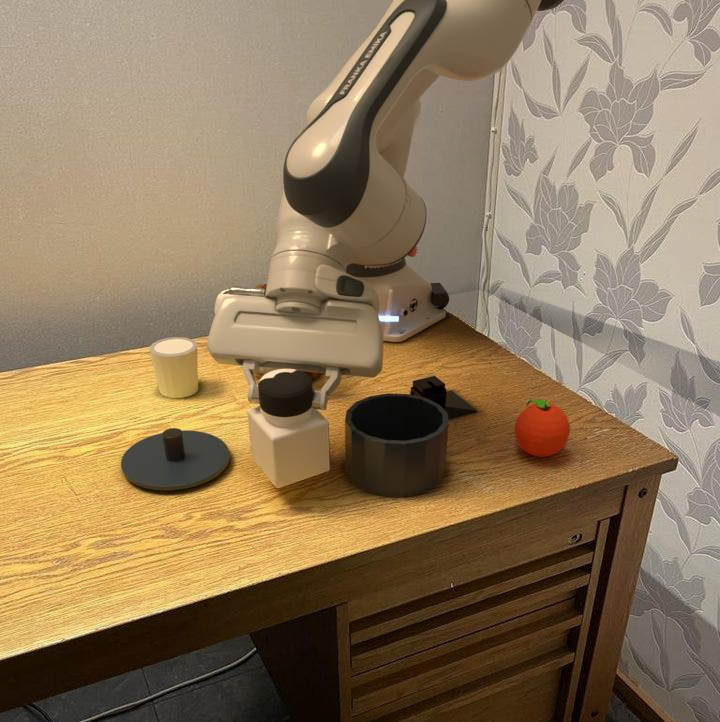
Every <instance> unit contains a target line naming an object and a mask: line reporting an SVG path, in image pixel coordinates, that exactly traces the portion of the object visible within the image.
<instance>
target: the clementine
mask: <svg viewBox="0 0 720 722" xmlns="http://www.w3.org/2000/svg"><path fill="white" fill-rule="evenodd" d="M531 402H533V404H530V403H531ZM570 433H571V426H570V422H569V419H568V415H566V413H565V412H564V411H563V409H561V408H560V407H558V406H557V405H555V404H553V403H550V402H547V401H546V400H544V399H540V398H536V399H535V398H534V399H529V400H528V401H527V403H526V406H525V408H524V409H523V410H522V411H521V412H520V413H519V415H518V416H517V418H516V421H515V424H514V437H515V440H516V443H517V444H518V445H519V446H520V448H521V449H522V450H523V451H524V452H525V453H527V454H529V455H530V456H534V457H539V458H544V457H549V456H553V455H555V454H558V452H559V451H561V450H562V449H563V448H564V447H565V445H566V444H567V443H568V440H569V437H570Z"/></svg>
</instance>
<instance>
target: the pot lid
mask: <svg viewBox="0 0 720 722" xmlns="http://www.w3.org/2000/svg"><path fill="white" fill-rule="evenodd" d="M229 462H230V450H229V447H228V445H227V443H225V441H223V439H221V438H219V437H218V436H216V435H213V434H211V433H208V432H203V431H198V430H182V429H180V428H176V427H172V428H166V429H164V430H163V431H162V432H160V433H157V434H152V435H150V436H147V437H145V438H142V439H141V440H139V441H137V442H135V443H134V444H133V445H131V446H130V447H129V448H128V449H127V450H126V451H125V452H124V453H123V455H122V457H121V460H120V468H121V472H122V474H123V476H124V477H125V479H126V480H128V481H129V482H130V483H132V484H134V485H136V486H138V487H140V488H143V489H148V490H152V491H153V490H154V491H178V490H185V489H190V488H193V487H197V486H199V485H203V484H205V483H207V482H209V481H211V480H214V479H215V478H216V477H218V476H219V475H220V474H222V472H223V471H225V469H226V468H227V467H228V465H229Z"/></svg>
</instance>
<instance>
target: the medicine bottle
mask: <svg viewBox="0 0 720 722" xmlns="http://www.w3.org/2000/svg"><path fill="white" fill-rule="evenodd" d="M257 385H258V391H259V402H260V404H259V406H255V407H252V408H249V409H248V410H247V412H246V414H247V422H248V423H247V424H248V432H249V443H250V452H251V459H252V461H253V462H254V463H255V464H256V465H257V466H258V468H259V469H260V470H261V472H262V473H264V475H265V476H266V477H267V479H268V480H269V481H270V482H271V483H272V485H273V486H274V487H275V488H276V489H280V488H283V487H287V486H290V485H292V484H295V483H298V482H301V481H303V480H307V479H309V478H313V477H316V476H318V475H321V474H324V473H327V472H329V471H330V470H331V453H330V452H331V451H330V422H329V420H328V419H327V418H326V417H325V416H324V415H323V414H322V413H321V412H320V410H318V409H313V407H312V405H311V404H312V399H313V391H314V389H313V388H314V385H313V379H311V378H310V377H309V376H308V375H307V374H306V373H304V372H302V371H300V370H296V369H278V370H274V371H271V372H269V373H267V374H265V375H264V376H263V377H262V378H261V379H259V380H258V383H257Z"/></svg>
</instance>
